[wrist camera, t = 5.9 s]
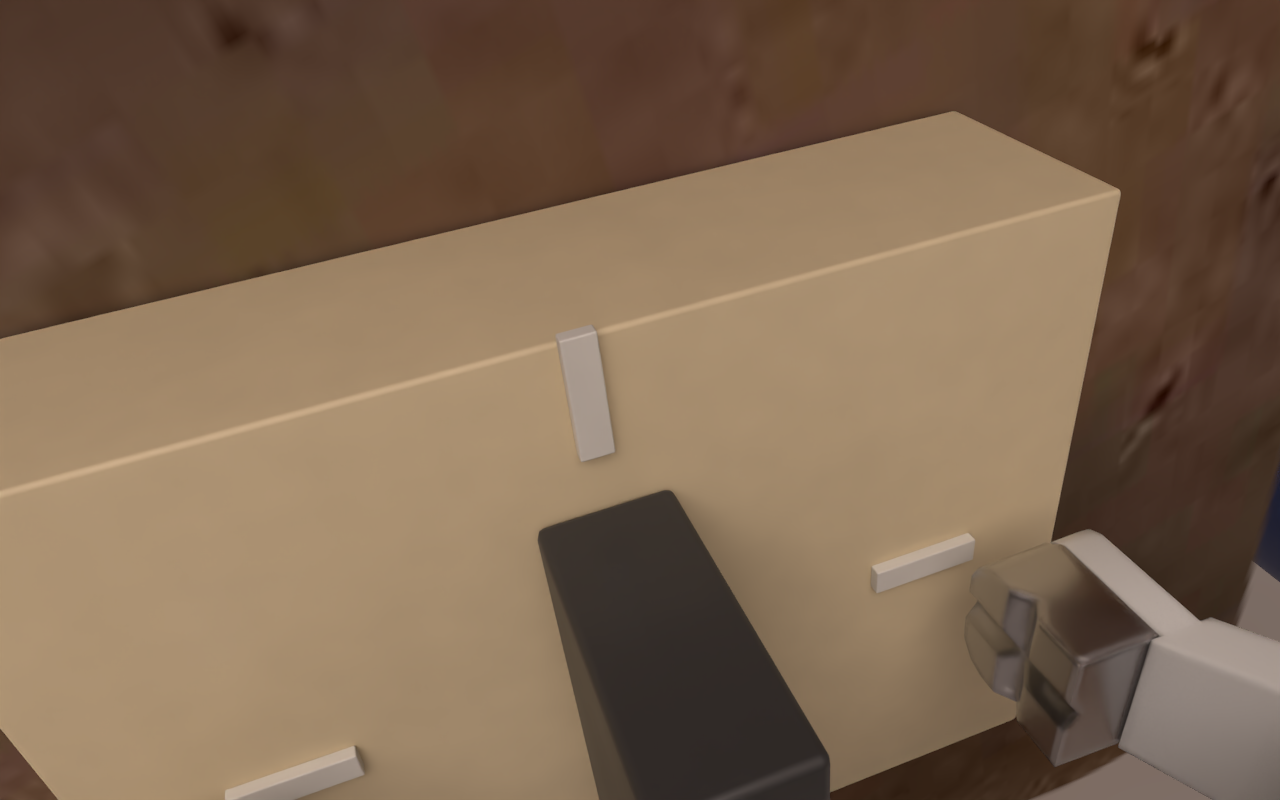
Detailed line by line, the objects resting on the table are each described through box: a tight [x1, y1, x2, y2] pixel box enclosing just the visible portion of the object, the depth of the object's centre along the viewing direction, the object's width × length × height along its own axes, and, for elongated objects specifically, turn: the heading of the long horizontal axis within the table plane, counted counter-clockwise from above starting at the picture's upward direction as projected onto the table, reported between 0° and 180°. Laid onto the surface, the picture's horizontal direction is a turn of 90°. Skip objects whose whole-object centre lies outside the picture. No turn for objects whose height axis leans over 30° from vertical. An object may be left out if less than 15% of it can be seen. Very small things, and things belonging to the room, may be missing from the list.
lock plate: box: [0, 111, 1121, 800], centre depth 12 cm, size 12×9×3 cm
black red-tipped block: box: [537, 490, 830, 800], centre depth 10 cm, size 5×2×4 cm, turn 6°
